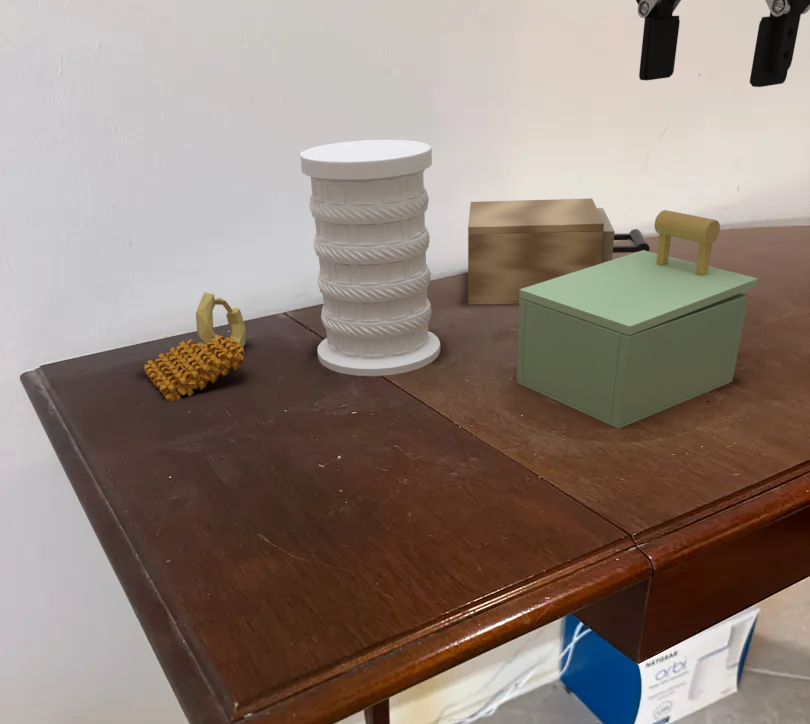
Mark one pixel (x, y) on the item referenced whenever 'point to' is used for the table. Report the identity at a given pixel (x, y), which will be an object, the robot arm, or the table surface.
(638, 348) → the chest
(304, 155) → the decorative container
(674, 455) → the table surface
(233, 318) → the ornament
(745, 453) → the table surface
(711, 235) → the lid
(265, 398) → the table surface
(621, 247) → the drawer
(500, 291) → the cabinet
